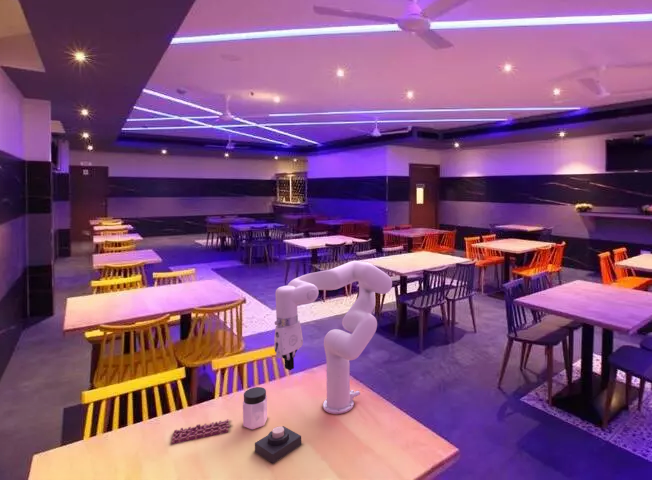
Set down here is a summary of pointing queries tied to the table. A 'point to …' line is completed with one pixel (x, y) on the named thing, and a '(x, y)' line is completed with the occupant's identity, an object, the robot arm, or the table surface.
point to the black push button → (277, 445)
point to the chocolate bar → (200, 431)
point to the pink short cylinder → (278, 432)
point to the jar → (254, 408)
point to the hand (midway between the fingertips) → (289, 368)
